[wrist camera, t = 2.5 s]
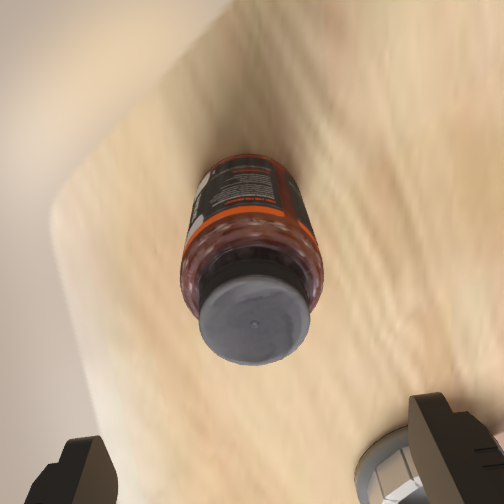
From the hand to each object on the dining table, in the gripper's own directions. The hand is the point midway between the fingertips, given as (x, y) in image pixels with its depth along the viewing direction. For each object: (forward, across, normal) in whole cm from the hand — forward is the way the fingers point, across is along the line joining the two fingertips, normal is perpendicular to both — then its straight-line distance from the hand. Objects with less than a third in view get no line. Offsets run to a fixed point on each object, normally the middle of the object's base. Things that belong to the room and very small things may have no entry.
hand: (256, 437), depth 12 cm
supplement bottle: (+16, 0, 0) cm, 16 cm away
